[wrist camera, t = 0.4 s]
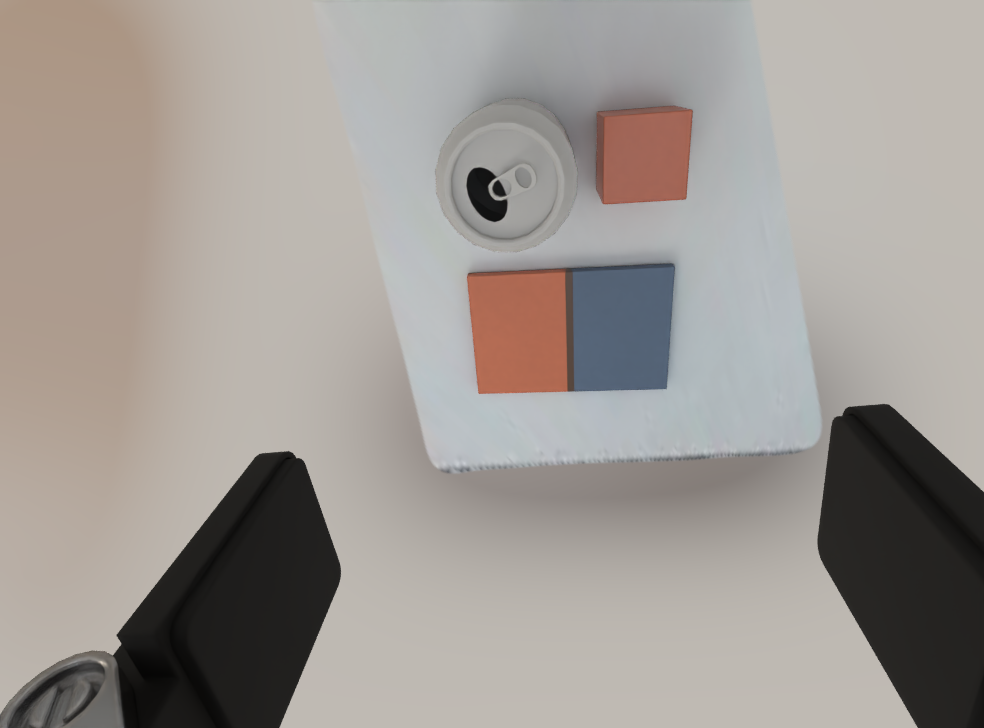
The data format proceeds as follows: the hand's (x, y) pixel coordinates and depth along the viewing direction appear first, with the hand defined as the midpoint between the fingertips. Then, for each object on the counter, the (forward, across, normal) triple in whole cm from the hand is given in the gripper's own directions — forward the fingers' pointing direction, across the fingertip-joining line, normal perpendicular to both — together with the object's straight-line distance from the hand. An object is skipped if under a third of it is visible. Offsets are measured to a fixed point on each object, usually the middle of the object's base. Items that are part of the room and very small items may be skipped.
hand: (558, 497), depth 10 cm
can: (+33, +2, -2) cm, 33 cm away
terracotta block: (+33, -6, -2) cm, 34 cm away
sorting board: (+33, 0, +11) cm, 35 cm away
